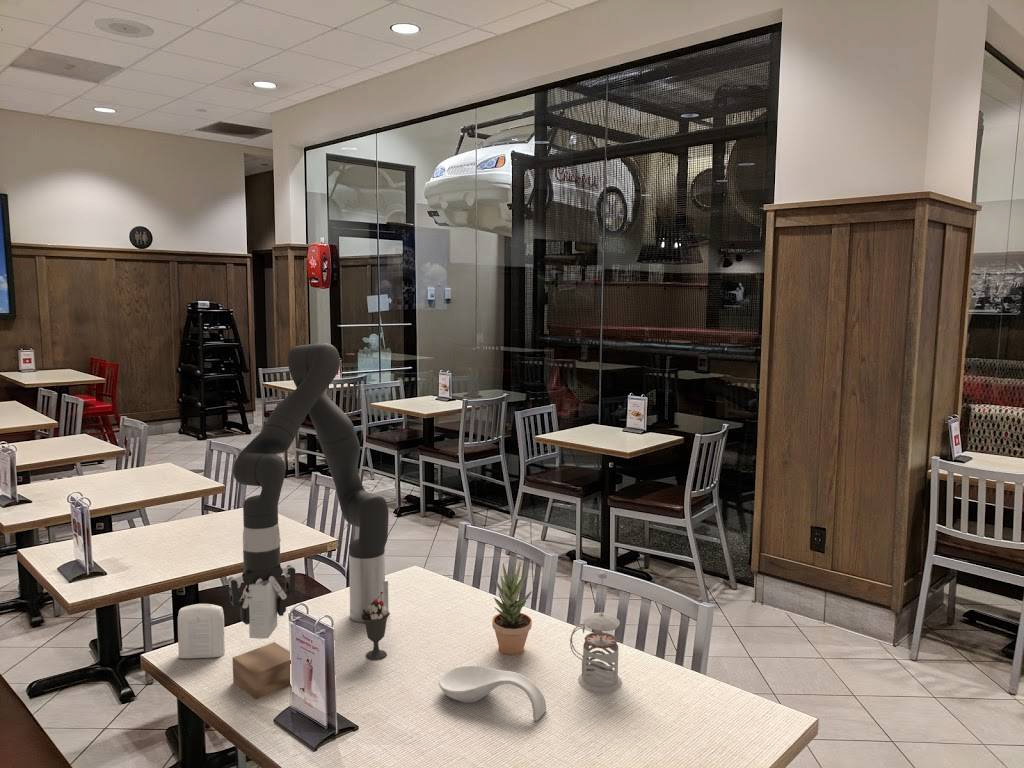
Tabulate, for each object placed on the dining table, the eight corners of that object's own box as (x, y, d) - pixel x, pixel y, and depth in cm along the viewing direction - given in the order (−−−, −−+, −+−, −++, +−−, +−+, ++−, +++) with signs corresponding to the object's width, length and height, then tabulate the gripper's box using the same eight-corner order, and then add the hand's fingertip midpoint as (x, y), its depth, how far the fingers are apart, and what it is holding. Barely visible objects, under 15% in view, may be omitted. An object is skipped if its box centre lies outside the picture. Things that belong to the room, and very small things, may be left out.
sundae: (393, 649, 176) (393, 589, 175) (386, 662, 170) (385, 600, 168) (366, 647, 177) (365, 587, 175) (358, 661, 170) (357, 599, 169)
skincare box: (258, 626, 163) (257, 573, 161) (278, 626, 163) (277, 574, 161) (248, 639, 157) (246, 584, 155) (269, 639, 156) (267, 584, 155)
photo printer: (227, 649, 175) (225, 599, 174) (222, 658, 171) (220, 607, 170) (182, 652, 174) (179, 602, 173) (176, 660, 170) (173, 609, 168)
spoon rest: (428, 701, 154) (428, 669, 153) (457, 676, 164) (457, 645, 164) (530, 732, 143) (530, 697, 143) (554, 703, 154) (555, 670, 153)
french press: (621, 695, 157) (624, 582, 154) (566, 689, 159) (568, 577, 156) (623, 672, 166) (626, 565, 163) (572, 666, 168) (574, 561, 166)
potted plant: (531, 658, 172) (532, 557, 169) (491, 657, 172) (491, 556, 170) (531, 639, 182) (532, 542, 179) (493, 638, 182) (493, 542, 179)
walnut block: (275, 667, 168) (274, 642, 167) (298, 682, 161) (298, 656, 160) (233, 683, 160) (232, 657, 160) (256, 700, 154) (255, 673, 153)
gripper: (288, 534, 165) (290, 605, 166) (221, 546, 156) (224, 621, 158) (300, 543, 159) (302, 616, 160) (232, 556, 150) (234, 633, 152)
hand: (263, 618), depth 159 cm, fingers closed on skincare box, 6 cm apart
